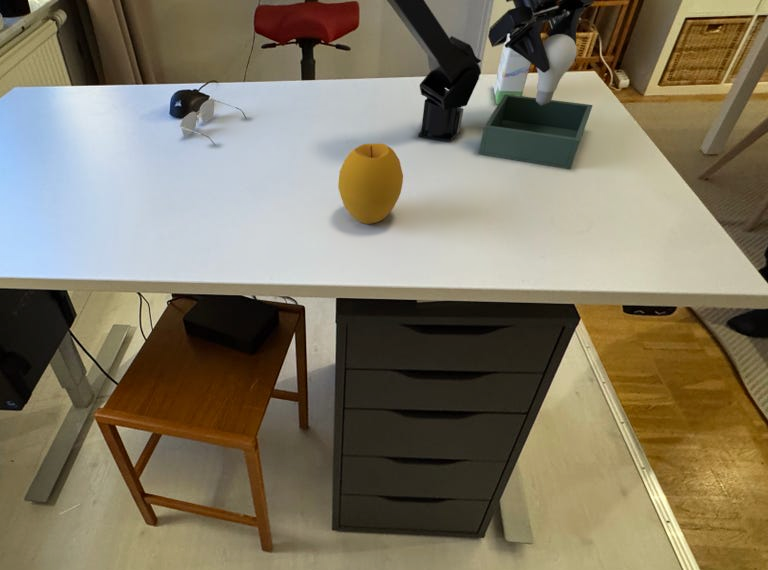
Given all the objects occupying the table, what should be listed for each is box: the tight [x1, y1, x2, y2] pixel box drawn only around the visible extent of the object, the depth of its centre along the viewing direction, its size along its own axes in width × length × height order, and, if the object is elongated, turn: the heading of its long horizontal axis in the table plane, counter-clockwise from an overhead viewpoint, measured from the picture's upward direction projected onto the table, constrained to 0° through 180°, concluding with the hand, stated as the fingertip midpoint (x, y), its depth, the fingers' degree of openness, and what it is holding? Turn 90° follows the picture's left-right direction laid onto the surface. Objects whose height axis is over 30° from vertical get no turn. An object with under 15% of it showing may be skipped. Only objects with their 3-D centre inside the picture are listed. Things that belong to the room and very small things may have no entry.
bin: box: [478, 94, 593, 170], centre depth 98 cm, size 16×16×5 cm
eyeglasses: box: [178, 98, 248, 146], centre depth 111 cm, size 14×8×4 cm, turn 155°
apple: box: [337, 142, 404, 225], centre depth 82 cm, size 10×10×12 cm
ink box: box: [493, 34, 532, 105], centre depth 111 cm, size 9×5×12 cm, turn 168°
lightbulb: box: [535, 34, 577, 105], centre depth 91 cm, size 6×6×11 cm
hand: (560, 66), depth 90 cm, fingers closed on lightbulb, 6 cm apart
